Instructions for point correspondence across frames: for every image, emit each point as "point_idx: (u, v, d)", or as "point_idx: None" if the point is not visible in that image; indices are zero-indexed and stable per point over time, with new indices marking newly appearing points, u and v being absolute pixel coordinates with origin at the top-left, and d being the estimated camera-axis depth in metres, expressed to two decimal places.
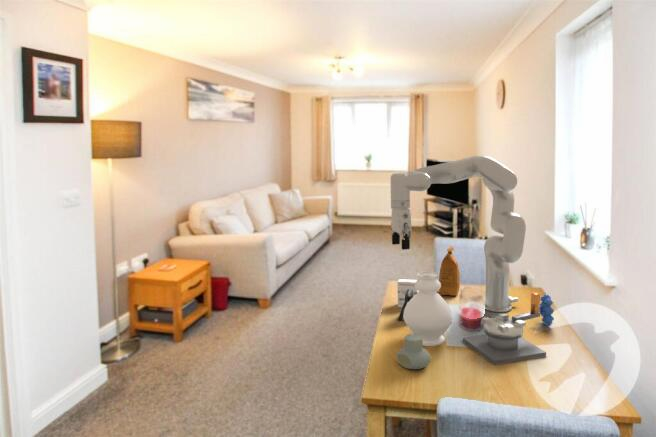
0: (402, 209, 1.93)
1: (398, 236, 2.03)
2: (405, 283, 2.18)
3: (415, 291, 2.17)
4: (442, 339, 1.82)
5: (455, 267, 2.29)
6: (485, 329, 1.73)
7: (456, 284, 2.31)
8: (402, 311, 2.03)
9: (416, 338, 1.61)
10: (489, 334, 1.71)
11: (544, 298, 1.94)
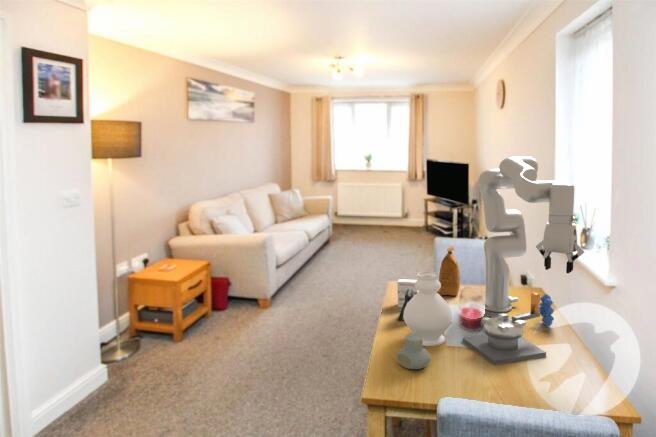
0: (571, 225, 1.65)
1: (550, 259, 1.74)
2: (405, 283, 2.18)
3: (415, 291, 2.17)
4: (442, 339, 1.82)
5: (455, 267, 2.29)
6: (485, 329, 1.73)
7: (456, 284, 2.31)
8: (402, 311, 2.03)
9: (416, 338, 1.61)
10: (489, 334, 1.71)
11: (544, 298, 1.94)
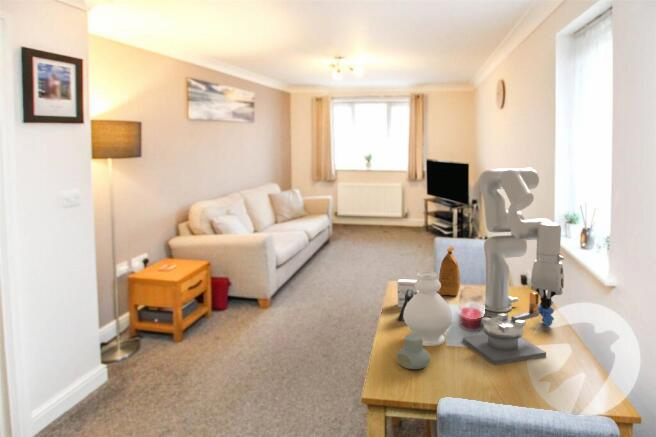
0: (558, 264, 1.70)
1: None
2: (405, 283, 2.18)
3: (415, 291, 2.17)
4: (442, 339, 1.82)
5: (455, 267, 2.29)
6: (485, 329, 1.73)
7: (456, 284, 2.31)
8: (402, 311, 2.03)
9: (416, 338, 1.61)
10: (490, 334, 1.71)
11: None
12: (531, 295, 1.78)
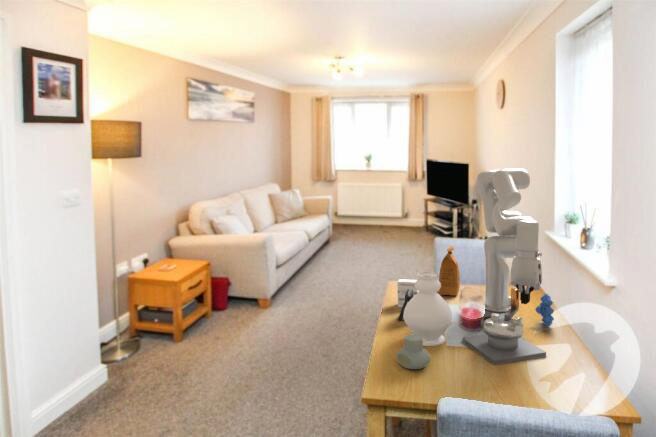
0: (536, 259, 1.76)
1: None
2: (405, 283, 2.18)
3: (415, 291, 2.17)
4: (442, 339, 1.82)
5: (455, 267, 2.29)
6: (492, 332, 1.70)
7: (456, 284, 2.31)
8: (402, 311, 2.03)
9: (416, 338, 1.61)
10: (498, 337, 1.68)
11: (544, 298, 1.94)
12: (514, 291, 1.83)
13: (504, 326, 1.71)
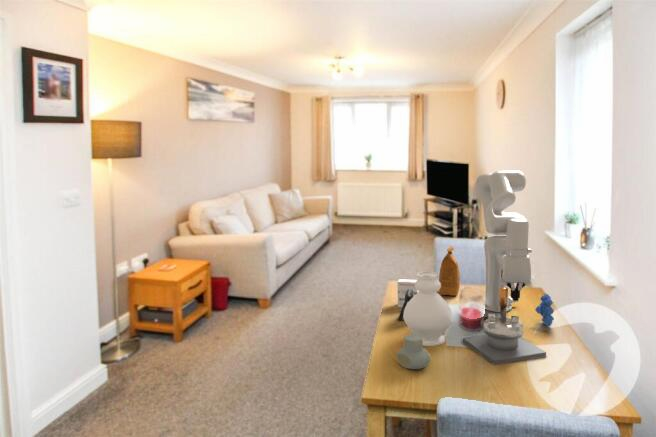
0: (528, 256, 1.82)
1: None
2: (405, 283, 2.18)
3: (415, 291, 2.17)
4: (442, 339, 1.82)
5: (455, 267, 2.29)
6: (496, 334, 1.69)
7: (456, 284, 2.31)
8: (402, 311, 2.03)
9: (416, 338, 1.61)
10: (504, 337, 1.68)
11: (544, 298, 1.94)
12: (503, 290, 1.85)
13: (506, 326, 1.71)
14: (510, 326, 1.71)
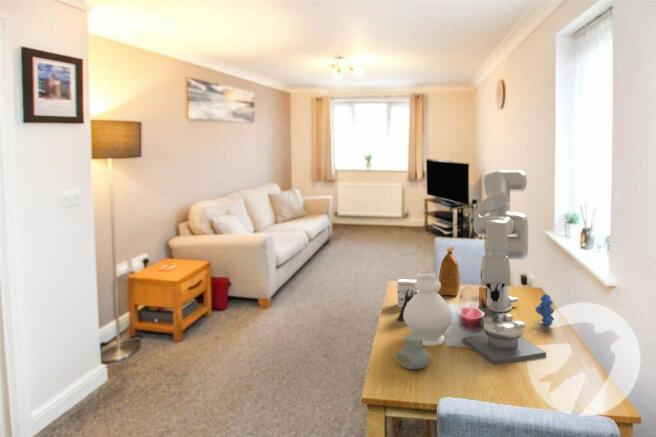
0: (507, 257, 1.83)
1: None
2: (405, 283, 2.18)
3: (415, 291, 2.17)
4: (442, 339, 1.82)
5: (455, 267, 2.29)
6: (507, 335, 1.67)
7: (456, 284, 2.31)
8: (402, 311, 2.03)
9: (416, 338, 1.61)
10: (513, 337, 1.68)
11: (544, 298, 1.94)
12: (485, 290, 1.85)
13: (509, 326, 1.71)
14: (512, 325, 1.72)
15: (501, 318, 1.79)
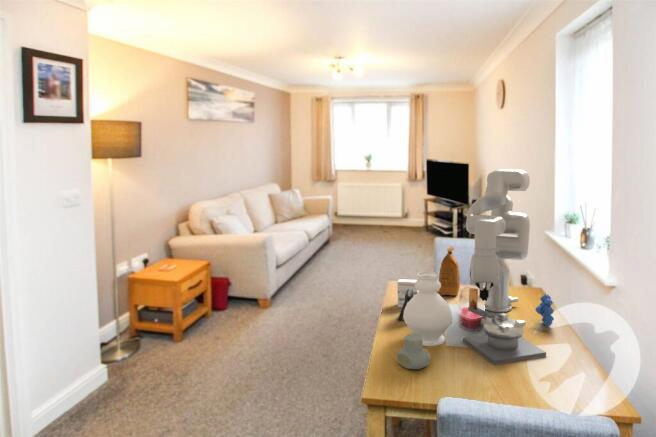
0: (496, 256, 1.83)
1: None
2: (405, 283, 2.18)
3: (415, 291, 2.17)
4: (442, 339, 1.82)
5: (455, 267, 2.29)
6: (512, 335, 1.67)
7: (456, 284, 2.31)
8: (402, 311, 2.03)
9: (416, 338, 1.61)
10: (518, 336, 1.68)
11: (544, 298, 1.94)
12: (476, 291, 1.84)
13: (510, 325, 1.72)
14: (511, 324, 1.73)
15: (497, 318, 1.79)
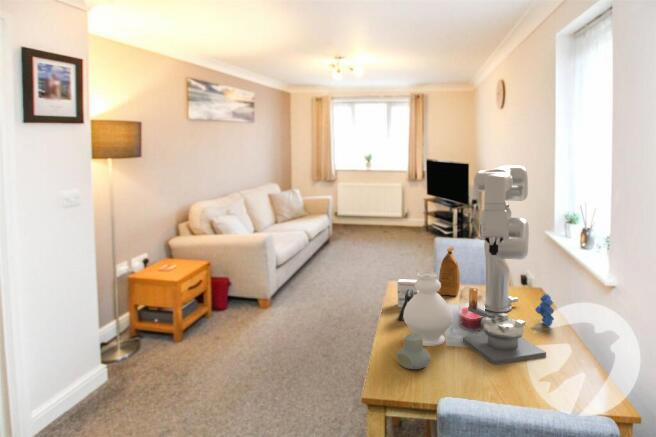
0: (505, 210, 1.86)
1: None
2: (405, 283, 2.18)
3: (415, 291, 2.17)
4: (442, 339, 1.82)
5: (455, 267, 2.29)
6: (512, 335, 1.67)
7: (456, 284, 2.31)
8: (402, 311, 2.03)
9: (416, 338, 1.61)
10: (518, 336, 1.68)
11: (544, 298, 1.94)
12: (476, 291, 1.84)
13: (510, 325, 1.72)
14: (511, 324, 1.73)
15: (497, 318, 1.79)
